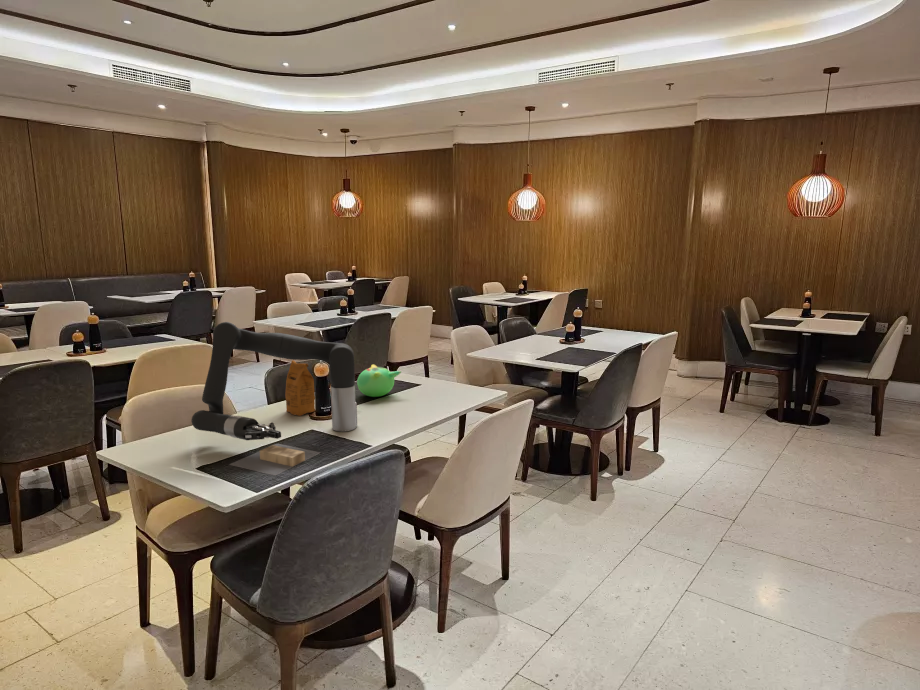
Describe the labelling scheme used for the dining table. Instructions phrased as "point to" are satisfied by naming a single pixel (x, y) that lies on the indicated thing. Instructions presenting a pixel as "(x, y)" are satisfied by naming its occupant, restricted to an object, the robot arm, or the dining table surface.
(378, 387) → the toy bird
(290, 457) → the oak card block
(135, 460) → the dining table surface
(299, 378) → the coffee package
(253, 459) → the charcoal placemat
